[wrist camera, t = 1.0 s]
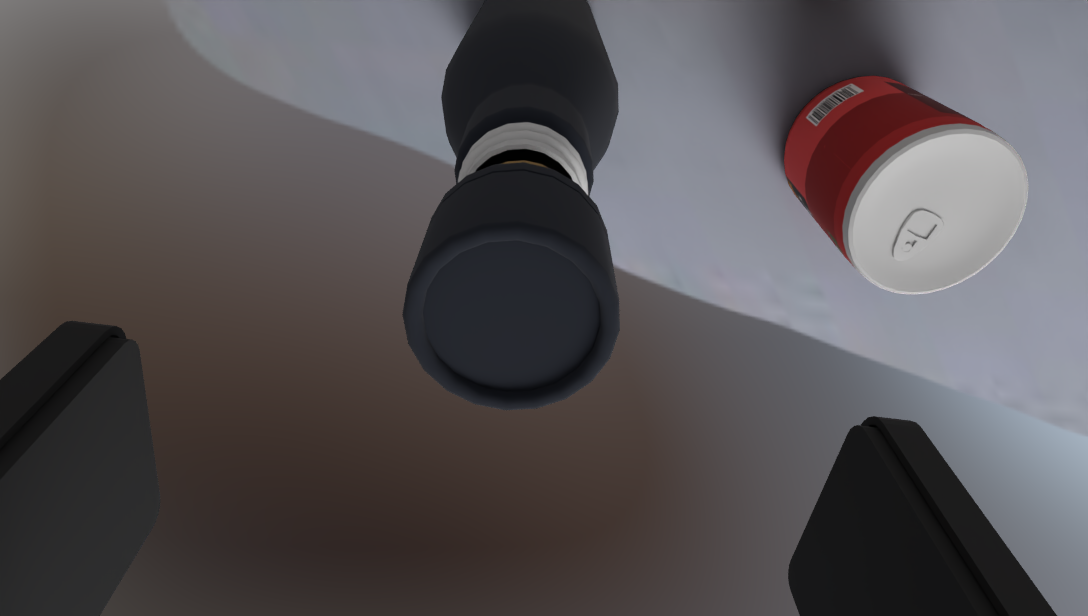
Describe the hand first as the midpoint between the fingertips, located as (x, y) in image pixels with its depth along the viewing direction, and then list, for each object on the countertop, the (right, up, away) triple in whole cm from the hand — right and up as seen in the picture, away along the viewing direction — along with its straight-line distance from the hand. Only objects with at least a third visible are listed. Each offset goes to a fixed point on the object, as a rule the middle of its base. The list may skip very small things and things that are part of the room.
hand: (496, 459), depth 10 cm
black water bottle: (0, +17, +29) cm, 34 cm away
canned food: (+18, +11, +32) cm, 39 cm away
